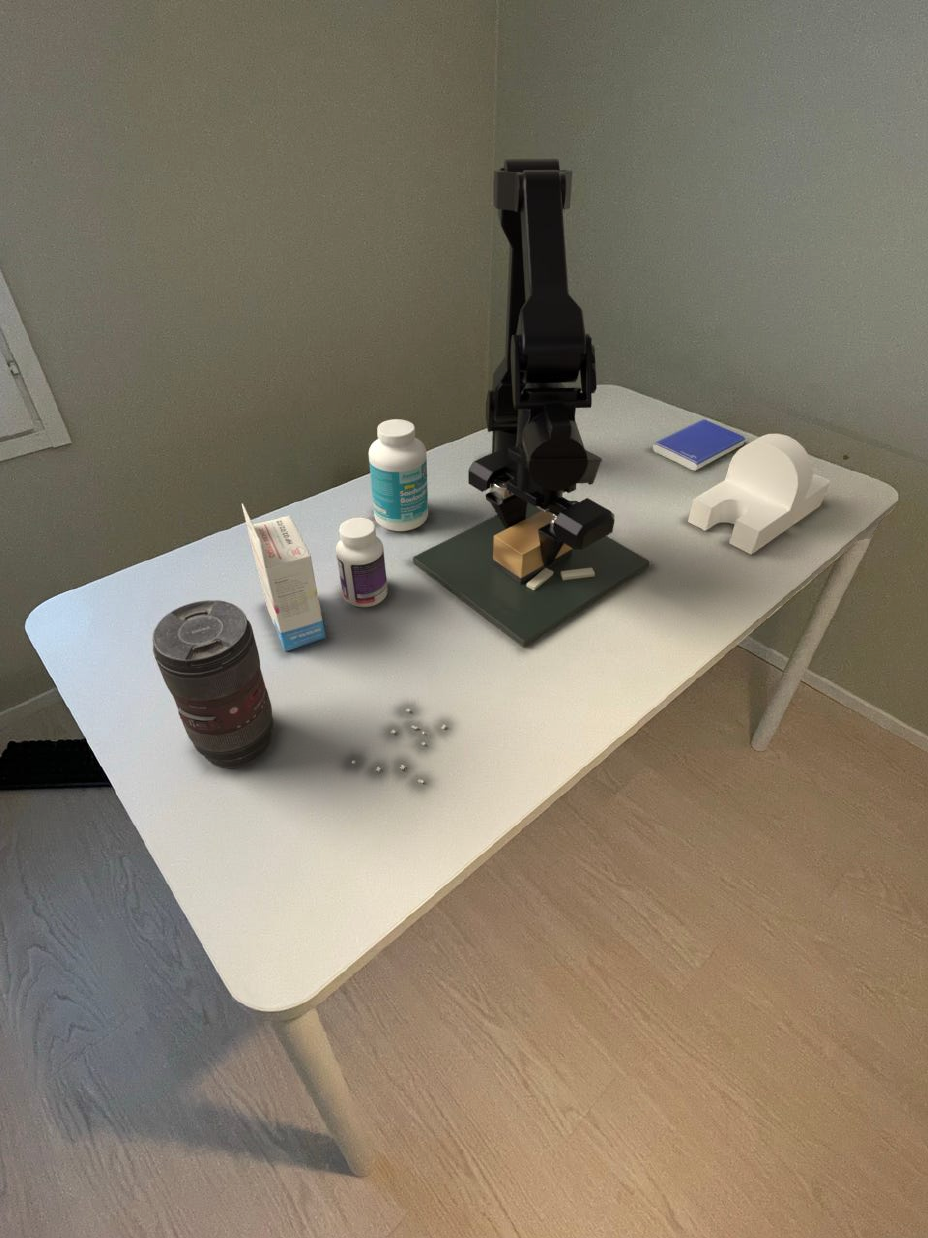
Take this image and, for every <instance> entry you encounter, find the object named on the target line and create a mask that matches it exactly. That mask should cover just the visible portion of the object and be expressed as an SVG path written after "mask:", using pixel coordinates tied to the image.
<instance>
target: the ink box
mask: <svg viewBox="0 0 928 1238" xmlns="http://www.w3.org/2000/svg"><path fill="white" fill-rule="evenodd" d="M241 507H242V511H243V515H244V519H245V523H246V528H247V532H248V537H249V540H250V545H251V548H252V553H253V557H254V560H255V565H256V570H257V573H258V577H259V580H260V585H261V588H262V593H263V597H264V600H265V601H264V602H265V605H266V609H267V611H268V614H269V616H270V618H271V621H272V624H273V626H274V629H275V631H276V633H277V636H278V638H279V640H280V644H281V645H282V647H283V651H284V652H289V651H292V650H294V649H297V648H300V647H303V646H306V645H310V644H312V643H316V642H318V641H321V640H325V639H326V638H327V637H326V631H325V627H324V621H323V616H322V615H323V614H322V610H321V605H320V600H319V599H320V598H319V594H318V587H317V582H316V578H315V577H316V576H315V572H314V565H313V560H312V559H313V558H312V555H311V553H310V551H309V548H308V547H307V544H306V543H305V541H304V539H303V538H302V535H301V534H300V532H299V529H298V527H297V525H296V524H295V522H294V520H293V518H292V516H291V515H286V516H282V517H279V518H274V519H271V520H270V519H269V520H265V521H262V522H258V523H254V524H253V521H252V519H251V517H250V516H249V513H248V511H247V509H246V506H245V504H244V503H241Z"/></svg>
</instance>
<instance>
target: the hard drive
mask: <svg viewBox="0 0 928 1238" xmlns="http://www.w3.org/2000/svg"><path fill="white" fill-rule="evenodd" d="M745 441H746V437H745V436H744V435H741V434H739V433H737V432H735V431H732V430H731V429H727V428H726V427H723V426H721V425H719V424H716V423H714V422H711V421H709V420H707V419H701V420H699V421H697V422H695V423H693V424H691V425H688V426H687V427H684V428H682V429H680V430H678V431H676V432H674V433H671V434H670V435H668V436H666V437H664V438H662V439H661V438H660V439H659V440H657V441H656V442H654V443H653V445H652V451H653V452H654V453H656V454H659V455H660V456H663V457H664V458H666V459H669V460H671V461H673V462H675V463H676V464H678V465H681V466H682V467H685V468H687V469H689V470H691V471H698V470H699V469H701V468H703V467H705V466H707V465H708V464H710V463H712V462H714V461H716V460H717V459H719V458H721V457H723V456H724V455H727V454H728V453H730V452H732V451H734V450H736V449H738V448H741V446H743V445H744V444H745Z"/></svg>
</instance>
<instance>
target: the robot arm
mask: <svg viewBox="0 0 928 1238" xmlns="http://www.w3.org/2000/svg"><path fill="white" fill-rule="evenodd" d="M503 162H504V163H503V167H500V168H499V170H494V171H493V180H492V181H493V182H492V184H493V185H492V196H493V197H492V199H493V200H492V201H493V207H494V208H495V209H496V210H497V217H498V220H499V223H500V227H501V229H502V231H503V233H504V235H505V237H506V239H507V241H508V243H509V251H508V252H509V253H508V274H507V275H508V276H507V277H508V278H507V295H506V297H507V298H506V299H507V300H506V322H505V343H504V345H505V346H504V357H503V359H502V360H501V362H500V363H499V365H497V368H496V369H495V370H494V372H493V373H492V387H491V388H492V389H488V390H487V394H486V395H487V396H486V401H485V421H486V429H487V433H492V435H491V436H492V437H491V438H492V439H491V440H492V442H491V444H492V445H491V453H489V454H487V455H484V456H483V457H481V458H478V459H476V460H474V461H473V462H472V463H471V465H470V466H469V468H468V471H467V472H468V477H467V478H468V479H467V481H468V482H467V483H468V485H470V486H472V487H473V488H475V489H476V490H478V491H480V492H481V493H483V492H486V491H487V490H490V491H489V492H487V493H485V499H486V501H488V502H489V503H490V505H491V507H492V508H493V510H494V511H495V514H496V515H498V517H499V518H500V520H501V522H502V524H503V526H504V527H505V529H508V528H510V527H512V526H513V525H515V524H517V523H519V522H521V521H523V520H525V519H526V510H527V504H528V503H530V504H531V505H533V506H535V507H536V508H538V509H540V510H541V511H543V512H548V511H549V512H551V513H552V520H551V523H549V524H547V525H545V526H543V527H541V528H540V529H538V534H539V540H540V548H541V555H542V560H543V564H544V566H546V567H547V566H549V565H551V564H552V563H553V561H554V559H555V558H556V556H557V554H558V553H559V551H560V549H561V548H562V546H563V544H564V543H565V544H566V545H568V546H570V547H571V548H573V549H575V550H582V549H584V548H586V547H588V546H589V545H591V544H593V543H594V542H596V541H598V540H600V539H601V538H603V537H605V536H607V537H608V535H611V534H612V533H613V531H614V526H615V521H616V520H615V513H614V512H612V511H611V510H610V509H608V508H606V507H605V506H603V505H601V504H599V503H597V502H596V501H594V500H593V499H590V498H589V497H586V498H583V499H582V500H580V501H578V500H569V499H567V498H566V497H564V495H563V494H564V493H567V494H570V493H573V492H574V491H576V489H577V485H578V484H588V485H593V484H594V483H595V480H596V477H597V475H598V472H599V469H600V467H601V464H602V461H603V458H602V457H601V456H599V455H597V454H595V453H593V452H592V451H589V450H587V449H586V447H585V445H584V442H583V438H582V436H581V433H580V430H579V427H578V424H577V422H576V412H577V411H576V410H577V409H592V405H593V404H592V403H593V400H592V399H593V398H592V397H593V394H595V393H596V391H597V390H598V387H597V385H598V384H597V365H596V348H595V346H594V344H593V343H592V342H593V341H592V340H593V339H592V337H591V335H590V333H586V329H585V319H584V312H583V309H582V307H581V306H580V305H579V304H578V303H577V302H576V300H575V299H574V298H573V297H572V295H571V294H570V292H569V280H568V268H567V267H568V265H567V254H566V253H567V252H566V236H565V223H564V222H565V221H564V210H568V209H570V208H571V201H572V198H571V197H572V187H573V170H570V169H560V161H559V158H504V161H503ZM579 376H580V385H581V386H580V387H566V386H565V385H564V384H565V383H567V384H568V383H570V384H571V383H577V380H578V379H579Z"/></svg>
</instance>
